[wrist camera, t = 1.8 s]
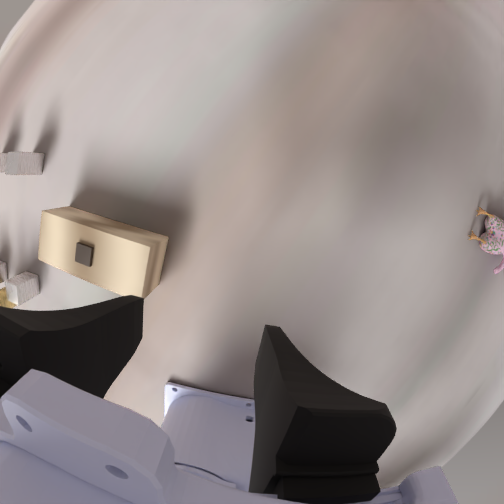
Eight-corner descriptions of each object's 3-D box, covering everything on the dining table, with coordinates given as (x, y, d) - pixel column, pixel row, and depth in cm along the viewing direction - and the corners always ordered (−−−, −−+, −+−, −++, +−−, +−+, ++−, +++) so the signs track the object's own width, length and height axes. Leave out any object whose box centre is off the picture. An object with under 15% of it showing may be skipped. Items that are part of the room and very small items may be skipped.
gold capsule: (23, 285, 23) (-7, 300, 18) (25, 305, 23) (-3, 322, 18) (11, 279, 23) (-19, 293, 18) (13, 299, 23) (-15, 314, 18)
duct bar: (169, 236, 21) (148, 247, 17) (159, 283, 22) (139, 304, 18) (70, 206, 21) (39, 211, 17) (65, 248, 22) (35, 260, 18)
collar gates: (44, 153, 20) (19, 151, 16) (39, 293, 23) (18, 305, 19) (1, 153, 19) (-21, 152, 16) (-2, 275, 23) (-21, 284, 19)
